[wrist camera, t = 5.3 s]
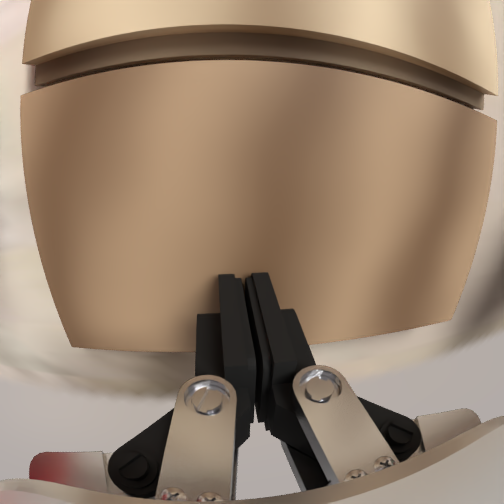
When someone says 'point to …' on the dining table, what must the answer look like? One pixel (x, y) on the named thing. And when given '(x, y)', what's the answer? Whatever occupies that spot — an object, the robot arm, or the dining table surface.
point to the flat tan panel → (274, 38)
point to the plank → (251, 198)
